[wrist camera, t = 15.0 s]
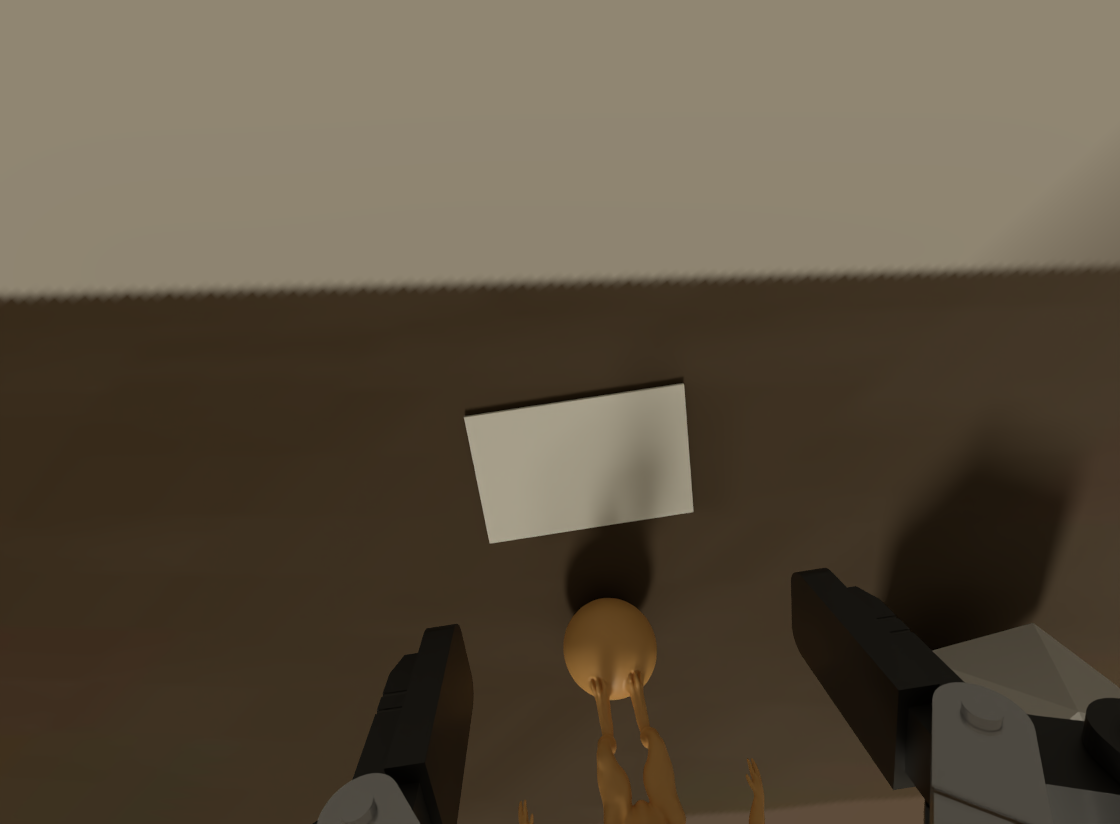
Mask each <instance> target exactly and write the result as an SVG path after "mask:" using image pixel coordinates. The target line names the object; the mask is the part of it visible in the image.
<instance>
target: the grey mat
mask: <svg viewBox="0 0 1120 824" xmlns="http://www.w3.org/2000/svg"><path fill="white" fill-rule="evenodd" d="M464 420H465V424H466V429H467V434H468V439H469V444H470V449H471V454H472V459H473V464H474V469H475V473H476V478H477V483H478V488H479V493H480V498H481V503H482V508H483V513H484V518H485V522H486V527H487V532H488V537H489V542H490V543H496V542H503V541H509V540H516V539H522V538H529V537H535V536H541V535H548V534H554V533H561V532H567V531H574V530H580V529H587V528H593V527H600V526H606V525H612V524H619V523H625V522H632V521H638V520H645V519H651V518H658V517H664V516H671V515H677V514H683V513H690V512H693V499H692V485H691V472H690V458H689V445H688V431H687V418H686V404H685V391H684V384H683V383H680V384H673V385H667V386H660V387H654V388H647V389H640V390H634V391H627V392H621V393H614V394H607V395H601V396H594V397H588V398H581V399H574V400H568V401H561V402H555V403H548V404H541V405H535V406H528V407H521V408H515V409H508V410H502V411H495V412H488V413H482V414H475V415H469V416H465V417H464Z"/></svg>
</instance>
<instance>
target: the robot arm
mask: <svg viewBox="0 0 1120 824" xmlns="http://www.w3.org/2000/svg"><path fill="white" fill-rule="evenodd" d="M791 598H792V630H793V635H794V639H795V642H796V645H797V647H798V649H799V651H800V653H801V655H802V657H803V658H804V660H805V661H806V662H807V664H808V665H809V667H810V668H811V670H812V671H813V673H814V674H815V676H816V677H817V679H818V680H819V682H820V683H821V684H822V686H823V687H824V689H825V690H826V692H827V693H828V695H829V696H830V698H831V699H832V701H833V702H834V704H835V705H836V706H837V708H838V709H839V711H840V712H841V714H842V715H843V717H844V718H845V720H846V721H847V723H848V724H849V726H850V727H851V728H852V730H853V731H854V733H855V734H856V736H857V737H858V739H859V740H860V742H861V743H862V745H863V746H864V748H865V749H866V750H867V752H868V753H869V755H870V756H871V758H872V759H873V761H874V762H875V764H876V765H877V767H878V768H879V769H880V771H881V772H882V774H883V775H884V777H885V778H886V780H887V781H888V783H889V784H890V786H891V787H892V789H893V790H896V789H902V788H909V787H915V786H916V788H917V789H918V790H919V792H920V793H921V794H922V796H923V797H924V799H925V804H924V824H1120V698H1102V699H1097V700H1095V701H1093V702H1091V703H1090V704H1089V705H1088V707H1087V710H1086V715H1085V720H1084V721H1080V720H1071V719H1062V718H1053V717H1045V716H1036V715H1030V714H1026V713H1025V711H1023V710H1022V709H1021V708H1020V707H1019V706H1018V705H1017V704H1016V703H1014V702H1013V701H1012V700H1010V699H1008V698H1007V697H1005V696H1004V695H1002V694H1000V693H998V692H996V691H993V690H991V689H989V688H986V687H983V686H980V685H976V684H971V683H965V682H964V681H963V680H962V679H961V678H960V677H959V676H958V675H957V674H956V673H955V672H954V671H953V670H952V669H950V668H949V667H948V666H947V665H946V664H945V663H944V662H943V661H942V660H941V659H940V658H939V657H938V656H937V655H936V654H935V653H934V652H933V651H932V650H931V649H930V648H929V647H928V646H927V645H926V644H925V643H924V642H923V641H922V640H921V639H920V638H919V637H918V636H917V635H916V634H915V633H914V632H910V629H909V628H908V627H907V626H906V625H905V624H904V623H903V622H902V621H901V620H900V619H899V618H898V619H897V618H896V615H895V614H894V613H893V612H892V611H891V610H890V609H889V608H888V607H887V606H886V605H885V604H884V603H883V602H882V601H881V600H880V599H878V598H876V597H875V596H873V595H871V594H869V593H867V592H865V591H864V590H862V589H860V588H858V587H856V586H855V587H848V588H847V587H846V586H845V585H844V584H843V583H842V582H841V581H840V580H839V579H838V578H837V577H836V576H835V575H834V574H833V573H832V572H831V571H830V570H829V569H827V568H821V569H815V570H808V571H802V572H795V573H793V575H792V578H791ZM472 709H473V681H472V675H471V670H470V666H469V662H468V658H467V654H466V649H465V645H464V641H463V637H462V632H461V629H460V626H459V625H458V624H453V625H446V626H440V627H433V628H427V629H426V630H425V632H424V635H423V638H422V642H421V645H420V648H419V652H418V653H415V654H409V655H404V657H403V658H402V659H401V660H400V661H399V663H398V664H397V665H396V666H395V668H394V669H393V670H392V671H391V673H390V674H389V677H388V680H387V683H386V686H385V689H384V691H383V697H381V700H380V703H379V706H378V709H377V714H375V717H374V720H373V723H372V726H371V728H370V731H369V734H368V737H367V740H366V743H365V746H364V748H363V751H362V754H361V757H360V760H359V763H358V766H357V768H356V771H355V774H354V777H353V779H352V781H350V782H349V783H347V784H346V785H344V786H343V787H342V788H340V789H339V790H338V791H337V792H336V793H335V794H334V795H333V796H332V797H331V799H330V800H329V801H328V802H327V804H326V805H325V807H324V808H323V810H322V812H321V814H320V816H319V819H318V821H316V822H315V823H313V824H457V818H458V810H459V803H460V796H461V789H462V781H463V774H464V767H465V760H466V752H467V745H468V738H469V731H470V723H471V716H472Z"/></svg>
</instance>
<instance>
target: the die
mask: <svg viewBox="0 0 1120 824" xmlns="http://www.w3.org/2000/svg"><path fill="white" fill-rule="evenodd" d="M932 651H933V652H934V653H935V654H936V655H937V656H938V657H939V658H940V659H941V660H942V661H943V662H944V663H945V664H946V665H947V666H948V667H949V668H950V669H952V670H953V671H954V672H955V673H956V674H957V675H958V676H959V677H960V678H961V679H962V680H963V681H964V682H965V683H971V684H976V685H980V686H983V687H986V688H989V689H991V690H993V691H996V692H998V693H1000V694H1002V695H1004V696H1005V697H1007V698H1008V699H1010V700H1012V701H1013V702H1014V703H1016V704H1017V705H1018V706H1019V707H1020V708H1021V709H1022V710H1023V711H1025V713H1026V714H1030V715H1036V716H1045V717H1053V718H1062V719H1071V720H1080V721H1084V720H1085V715H1086V710H1087V707H1088V705H1089V704H1090V703H1091V702H1093V701H1095V700H1097V699H1102V698H1120V688H1119V687H1118V686H1116V685H1115V684H1114V683H1112V682H1111V681H1110V680H1108V679H1107V678H1106V677H1104V676H1103V675H1102V674H1100V673H1099V672H1098V671H1096V670H1095V669H1094V668H1092V667H1091V666H1090V665H1088V664H1087V663H1086V662H1084V661H1083V660H1082V659H1080V658H1079V657H1078V656H1076V655H1075V654H1074V653H1072V652H1071V651H1070V650H1068V649H1067V648H1066V647H1064V646H1063V645H1062V644H1060V643H1059V642H1058V641H1056V640H1055V639H1054V638H1052V637H1051V636H1050V635H1048V634H1047V633H1046V632H1044V631H1043V630H1042V629H1040V628H1039V627H1038V626H1037V625H1035V624H1034V623H1031V624H1027V625H1024V626H1020V627H1016V628H1013V629H1009V630H1005V631H1002V632H998V633H994V634H991V635H987V636H983V637H980V638H976V639H973V640H969V641H965V642H962V643H958V644H954V645H951V646H947V647H943V648H940V649H936V650H932Z"/></svg>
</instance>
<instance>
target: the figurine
mask: <svg viewBox="0 0 1120 824" xmlns="http://www.w3.org/2000/svg"><path fill="white" fill-rule="evenodd" d="M564 657H565V662H566V665H567V668H568V670H569V672H570V674H571V676H572V677H573V679H574V680H575V682H576V683H577V684H578V685H579V686H580V687H581V688H582V689H583V690H585V691H586V692H588V693H589V694H591V695H593V696H594V697H595V699H596V703H597V708H598V714H599V720H600V725H601V730H602V735H603V736H602V737H601V738H600V739H599V741H598V750H597V779H598V785H599V790H600V794H601V797H602V801H603V808H604V824H685V823H686V816H685V813H684V811H683V809H682V806H681V803H680V801H679V798H678V795H677V792H676V787H675V779H674V772H673V767H672V763H671V760H670V758H669V755H668V752H667V749H666V746H665V743H664V741H663V739H662V738H661V737H660V736H659V733H658V732H657V730H656V729H654V728H652V727H650V725H649V719H648V714H647V709H646V704H645V699H644V694H643V686H644V685H645V684H646V682H647V681H648V680H649V678H650V676H651V674H652V672H653V670H654V667H655V663H656V657H657V645H656V639H655V635H654V632H653V629H652V627H651V625H650V623H649V622H648V620H647V619H646V617H645V616H644V615H643V614H642V613H641V612H640V611H639V610H638V609H637V608H636V607H635V606H633V605H631V604H630V603H628V602H626V601H623V600H620V599H616V598H601V599H597V600H594V601H591V602H589V603H587V604H586V605H584V606H583V607H581V608H580V609H579V610H578V611H577V612H576V613H575V615H574V616H573V617H572V619H571V620H570V622H569V624H568V626H567V629H566V632H565V637H564ZM629 696H630V697H631V700H632V704H633V708H634V711H635V716H636V720H637V724H638V727H639V730H640V732H641V734H640V739H641V742H642V744H643V745H644V746H645V747H646V748H648V758H647V761H646V764H645V766H644V771H643V781H644V786H645V789H646V792H647V795H648V797H649V800H650V802H649V803H647V802H645V801H644V800H639V801H637V802H636V804H635V805H634V806H632V801H631V800H632V795H631V785H630V781H629V779H628V776H627V774H626V773H625V771H624V770H623V769H622V768H621V767H620V765H619V764H618V763H617V761H616V759H615V756H614V753H615V751H616V740H615V739H614V738H613V723H612V717H611V710H610V701H609V700H618V699H623V698H626V697H629ZM747 762H748V765H749V770H750V774H751V777H752V781H751V779H750V778H749V776H748V775H747V774H746V778H747V781H748V783H749V785H750V787H751V788H752V790H753V792H754V800H753V803H752V807H751V811H750V816H749V824H765V818H764V791H763V786H762V780H761V776H760V773H759V770H758V768H757V765H756V763H755V762H754V760H753V759H752V758H751V762H752V765H751V763H750V761H749V759H748V758H747ZM752 766H753V767H752ZM519 824H533V814H531V818H530V822H529V821H528V812H527V806H526V800H524V812H523V807H522V801H520V804H519Z"/></svg>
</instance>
